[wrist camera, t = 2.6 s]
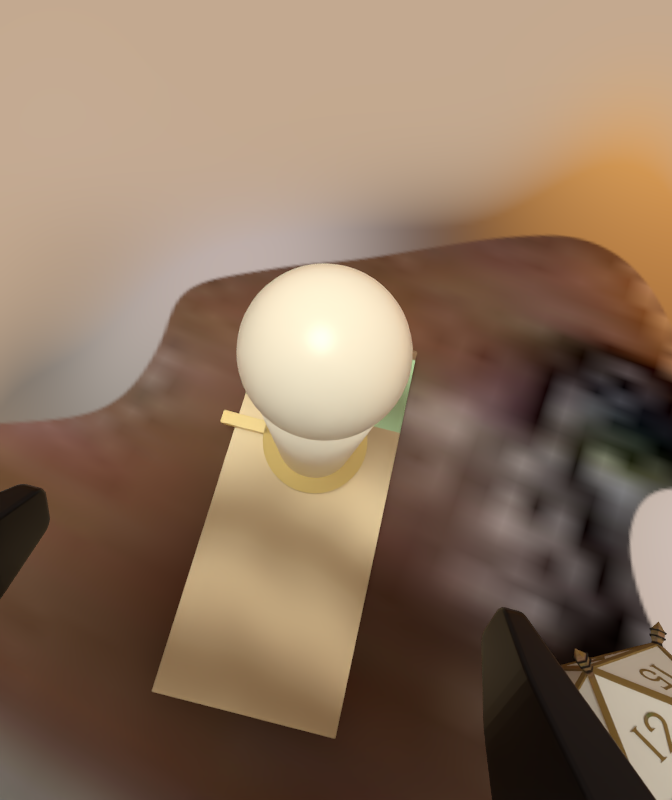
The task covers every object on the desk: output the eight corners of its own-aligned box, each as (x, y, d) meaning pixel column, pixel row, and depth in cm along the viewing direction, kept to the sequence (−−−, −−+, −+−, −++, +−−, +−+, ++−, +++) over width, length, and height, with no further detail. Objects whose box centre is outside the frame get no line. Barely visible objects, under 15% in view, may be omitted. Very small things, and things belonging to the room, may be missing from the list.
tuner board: (333, 727, 19) (335, 738, 18) (159, 682, 19) (151, 691, 18) (412, 358, 24) (417, 351, 23) (272, 322, 24) (270, 314, 23)
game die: (574, 702, 24) (831, 965, 15) (448, 752, 20) (691, 1138, 11) (625, 559, 21) (962, 769, 13) (494, 586, 18) (840, 906, 9)
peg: (352, 505, 21) (440, 490, 7) (208, 468, 21) (17, 382, 7) (375, 406, 22) (486, 233, 8) (239, 371, 22) (129, 141, 8)
